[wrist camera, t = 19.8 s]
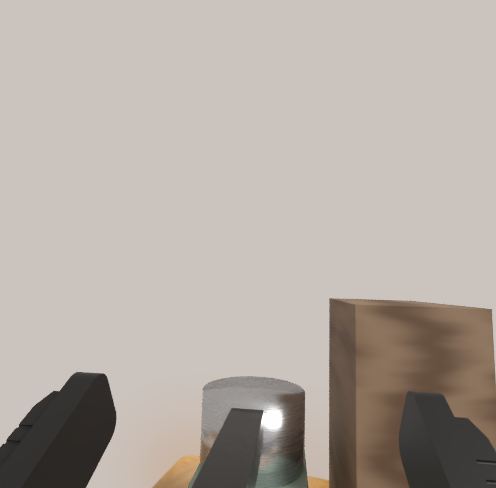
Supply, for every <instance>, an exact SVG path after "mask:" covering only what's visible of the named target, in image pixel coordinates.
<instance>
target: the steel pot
mask: <svg viewBox="0 0 496 488" xmlns="http://www.w3.org/2000/svg"><path fill="white" fill-rule="evenodd" d="M304 421H305V391H304V390H303V389H302V388H301V387H300V386H298V385H296V384H294V383H291V382H288V381H284V380H280V379H274V378H266V377H230V378H224V379H219V380H215V381H212V382H210V383H208V384H206V385H205V386H204V388H203V403H202V426H201V428H202V429H201V450H200V451H201V452H200V466H201V470H200V472H199V474H198V476H197V478H196V480H195V482H194V484H193V486H192V488H278V487H282V486H285V485H288V484H290V483H292V482H294V481H295V480H296V479H298V478H299V477H300V476H301V474H302V473H303V470H304V435H305V434H304V433H305V432H304V431H305V423H304Z"/></svg>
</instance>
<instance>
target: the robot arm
mask: <svg viewBox="0 0 496 488" xmlns="http://www.w3.org/2000/svg"><path fill="white" fill-rule="evenodd" d="M115 425H116V411H115V407H114V403H113V399H112V395H111V391H110V387H109V383H108V379H107V376H106V375H105V374H99V373H83V372H77V373H75V374H73V375H72V376H71V377H70V378H69V380H68V381H67V382H66V384H65V385H64V386H63V388H62V389H61V390H60V391H53V392H52V393H50V394H49V395H48V396H47V397H45V398H44V399H43V400H41V401H40V402H39V403H37V404H36V405H35V406H34V407H33V408H32V409H31V411H30V412H29V413H28V414H27V415H26V417H25V418H24V419H23V420H22V421H21V423H20V424H19V427H18V428H16V429H15V430H14V431H13V432H12V434H11V435H10V436H9V437H8V439H7V442H6V443H5V444H3V445H2V446H1V447H0V488H86V486H87V484H88V482H89V480H90V478H91V477H92V475H93V472H94V471H95V469H96V467H97V465H98V463H99V461H100V459H101V457H102V455H103V453H104V451H105V450H106V447H107V445H108V444H109V442H110V440H111V438H112V435H113V433H114V430H115ZM399 450H400V456H401V460H402V464H403V467H404V471H405V474H406V477H407V481H408V484H409V488H496V451H495V450H494V448H493V446H492V444H491V442H490V441H489V439H488V438H487V437H486V436H485V435H484V434H483V433H482V432H481V431H480V430H479V429H478V428H477V427H476V426H475V425H474V424H473V423H472V422H471V421H470V420H469V419H468V418H461V417H454V415H453V413H452V411H451V409H450V407H449V405H448V403H447V401H446V399H445V397H444V396H443V395H442V394H441V393H433V392H416V391H408V392H407V394H406V398H405V404H404V409H403V414H402V419H401V425H400V430H399Z"/></svg>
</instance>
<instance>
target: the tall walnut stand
mask: <svg viewBox="0 0 496 488" xmlns="http://www.w3.org/2000/svg"><path fill="white" fill-rule="evenodd" d="M329 356H330V357H329V358H330V359H329V361H330V362H329V367H330V368H329V369H330V371H329V374H330V375H329V376H330V377H329V378H330V380H329V387H330V389H329V392H330V394H329V395H330V396H329V402H330V403H329V407H330V409H329V488H409V484H408V481H407V477H406V474H405V471H404V467H403V464H402V460H401V456H400V450H399V430H400V425H401V419H402V414H403V409H404V404H405V398H406V394H407V392H408V391H416V392H433V393H441V394H442V395H443V396H444V397H445V399H446V401H447V403H448V405H449V407H450V409H451V411H452V413H453V415H454V417H461V418H468V419H469V420H470V421H471V422H472V423H473V424H474V425H475V426H476V427H477V428H478V429H479V430H480V431H481V432H482V433H483V434H484V435H485V436H486V437H487V438H488V439H489V441H490V442H491V444H492V446H493V448H494V450H495V451H496V383H495V363H494V345H493V326H492V310H491V309H484V308H474V307H464V306H455V305H444V304H435V303H424V302H415V301H393V300H362V299H332V298H331V299H330V355H329Z"/></svg>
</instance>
